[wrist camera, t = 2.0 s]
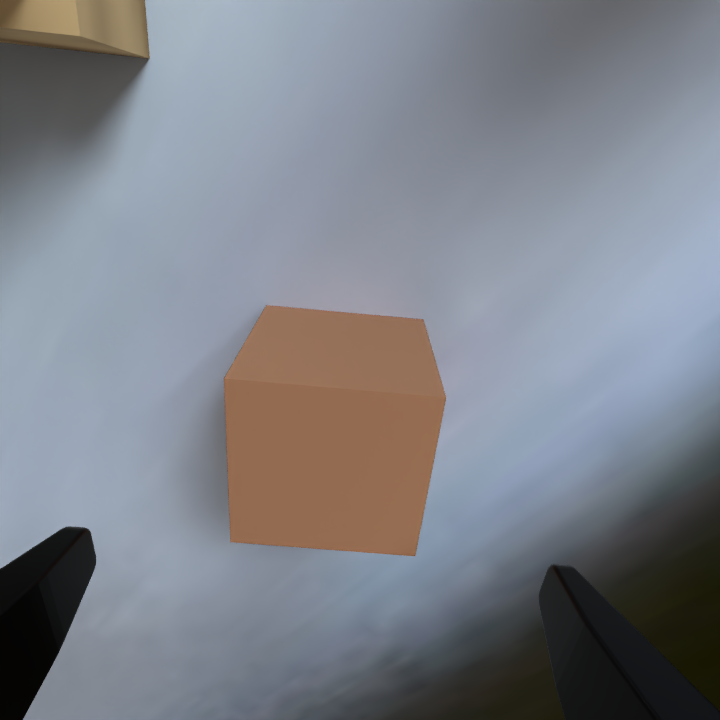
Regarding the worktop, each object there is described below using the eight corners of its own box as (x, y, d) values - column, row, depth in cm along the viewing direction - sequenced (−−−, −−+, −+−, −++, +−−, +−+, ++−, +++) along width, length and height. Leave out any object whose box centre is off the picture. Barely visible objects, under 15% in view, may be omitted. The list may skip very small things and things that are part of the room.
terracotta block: (423, 318, 15) (446, 397, 11) (402, 446, 17) (415, 556, 13) (266, 304, 15) (224, 378, 11) (266, 434, 17) (230, 542, 13)
